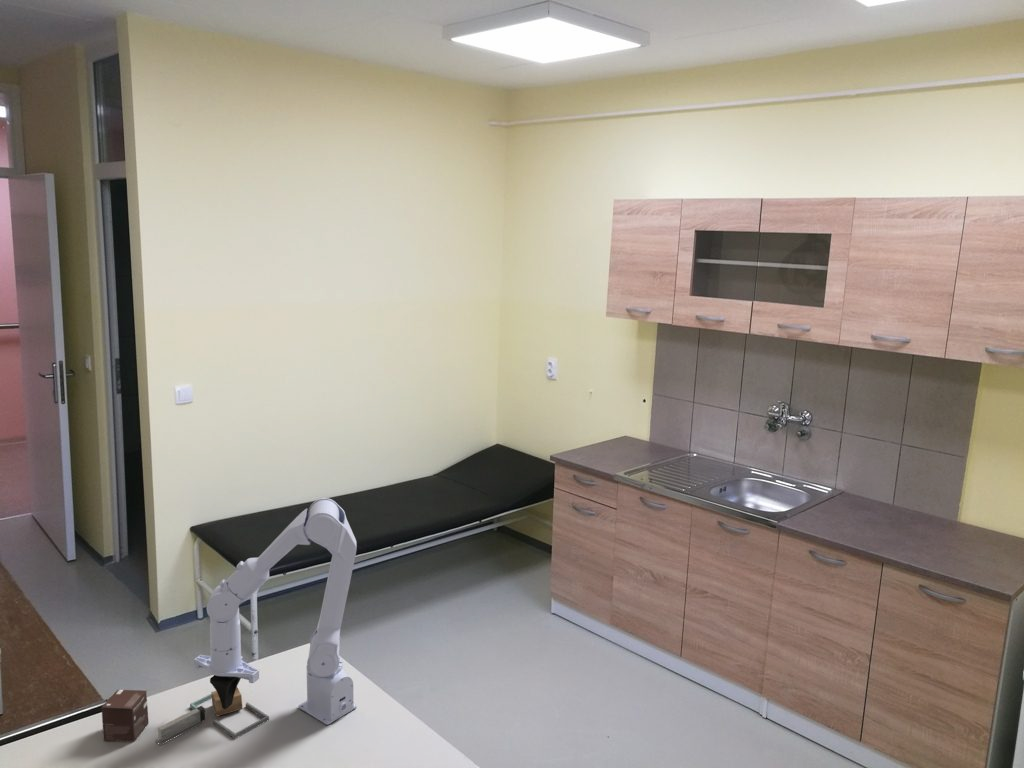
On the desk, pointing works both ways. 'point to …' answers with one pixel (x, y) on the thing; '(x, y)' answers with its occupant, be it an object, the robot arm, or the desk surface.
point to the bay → (200, 701)
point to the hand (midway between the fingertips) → (227, 706)
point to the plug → (235, 706)
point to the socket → (228, 731)
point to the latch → (181, 723)
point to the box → (125, 715)
